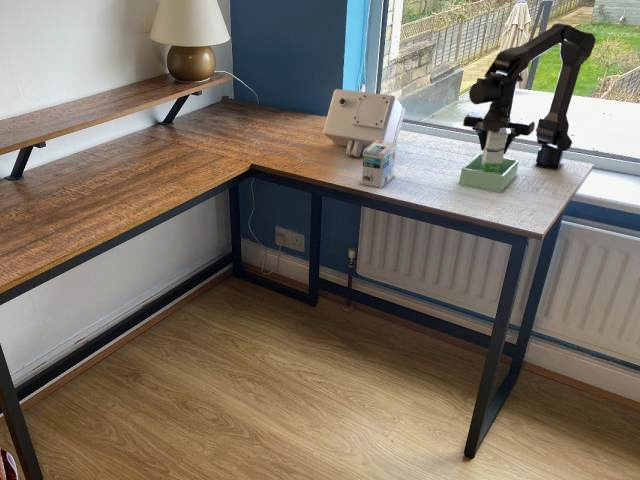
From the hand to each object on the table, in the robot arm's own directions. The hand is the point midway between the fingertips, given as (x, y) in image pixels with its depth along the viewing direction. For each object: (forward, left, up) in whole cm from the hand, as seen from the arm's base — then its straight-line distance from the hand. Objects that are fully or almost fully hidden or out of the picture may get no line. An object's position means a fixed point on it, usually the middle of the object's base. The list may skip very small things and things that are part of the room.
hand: (493, 152), depth 177 cm
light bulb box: (+28, +18, -9) cm, 35 cm away
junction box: (+45, -4, -9) cm, 46 cm away
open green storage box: (0, 0, -9) cm, 9 cm away
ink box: (0, 0, -5) cm, 5 cm away
